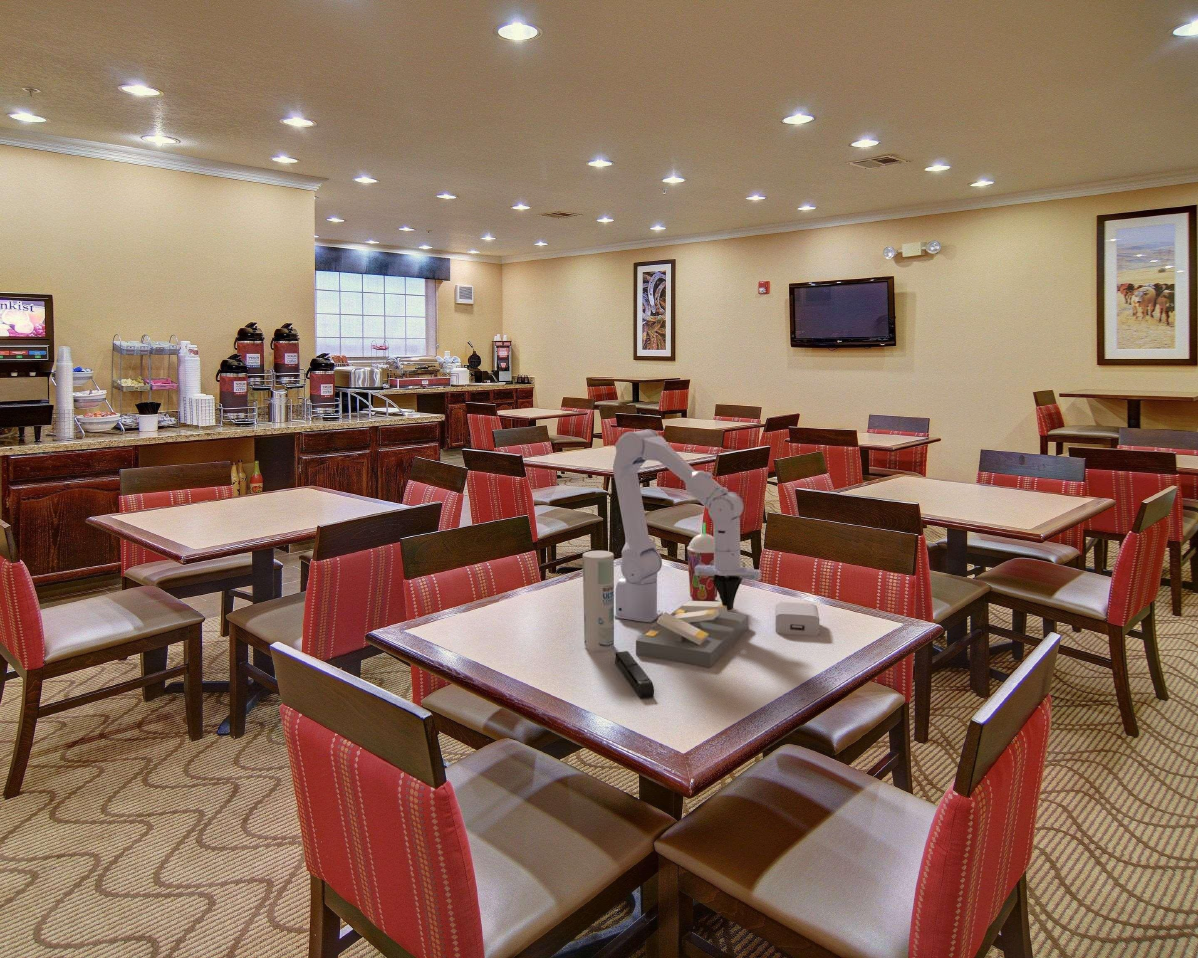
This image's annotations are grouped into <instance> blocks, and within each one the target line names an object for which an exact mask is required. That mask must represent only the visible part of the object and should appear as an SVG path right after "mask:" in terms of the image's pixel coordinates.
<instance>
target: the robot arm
mask: <svg viewBox="0 0 1198 958" xmlns="http://www.w3.org/2000/svg"><path fill="white" fill-rule="evenodd" d="M614 445H615V456H614V459H613V460H614V461H613V465H612V472H613V476H614V482H615V487H616V493H617V498H618V504H619V508H620V509H619V510H620V514H621V515H620V516H621V521H622V526H623V527H622V528H623V532H624V537H625V544H624V546H623V548H622V550H621V563H620V571H621V574H622V576H623V577H620V578H619V579H618V581H617V582H616V586H615V591H614V596H615V613H614V618H616V619H617V618H618V619H623V620H630V621H637V622H642V623H649V624H650V623H653V622H654V621H655V620H656V619H658V618H659V617H660V616H661V615H663V614H664V611H662V610H658V573H659V572H660V570H661V568H662V567H663V559H662V556H661V554H660V552H659V551H658V549H657V546H656V542H655V541H654V540H652V538H650V536H649V535H650V534H649V531H648V530H649V529H648V525H647V520H646V515H645V508H644V502H643V498H642V492H641V486H640V480H639V475H638V472H639V470H640V469H641V468H642V466H643V464H645V462H646V461H656V462H659V463H660V464H661V465H663V467H665V468H667V469H668V470H669V471H671V472H672V473H673V474H674V475H675V476H677V477H678V478H679V479H681V480H682V481H683V482H684V483H685V490H686V491H687V492H688V493H689V494H690V495H691V496H693V497H694V498H695V499H696V500H697V501H698V502H700V504H702V506H704V508H706V509H707V510H708V511H707V512H708V515H709V517H710V519H711V520H712V522H713V527H712V528H713V537H714V565H697V566H695V575H698V576H699V575H707V576H714V580H713V584H714V586H715V587H716V589H717V594H718V596H719V597H720V598H719V599H720V602H722V605H723V606H726V605H727V610H728V611H727V612H731V611H732V610H733V609H734V604H735V599H736V595H737V593H738V590H739V588H740V585H741V583H742V581H743V580H754V581H755V582H756V581H757V582H759V581H760V580H761V579H762V570H761V569H754V568H750V567H749V568H748V567H745V566H741V525H740V524H741V522H740V520H741V519H740V516H741V515H742V513H743V511H744V508H745V507H744V502H743V500H742V498H741V497H740V495H739V494H738V493H737V492H733V491H729V489H728V488H727V487H726V486H724V487H723V486H722V485H721V484H720V483H719V482H717V481H716V480H715V479H713V478H712V476H713V474H712V473H711V472H709V471H706V472H705V471H704V470H695V469H694V468H693V467H692V466H691V465H690V464H689V463H688V462H687V461H686V460H685V459H684V458H683V457H682V456H681V455H680V454H679V453H678V452H677V451H675V450H674V449H673V447H672V446H671V445H669V443H667V441H666V439H665V438H664V437H663V436H661V435H659V434H658V432H656V431H655V430H653V429H650V428H648V429H647V428H646V429H644V430H637V431H627V432H624V433H623V434H621V435H620V437H619V439H618V440H617V441H616V442H615V444H614Z"/></svg>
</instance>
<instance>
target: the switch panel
mask: <svg viewBox="0 0 1198 958" xmlns="http://www.w3.org/2000/svg"><path fill="white" fill-rule="evenodd" d="M688 612H696V611H683V605H681V606H680V607H678V608H676V609H675V610H674V611H673V612H672V613H669V614H670V615H672V616H674V615H676V614H681V613H688ZM749 622H750V621H749V614H743V613H738V612H731V611H727V612H719V615H718V616H717V617H716V618H715V619H713V620H705V621H697V622H689V623H688V624H690V625H692V626H694V627H696V628H698V629H700V630H702V631H704V632H706V633H708V637H707V639H706V640H705V641H704V642H703V643H702V644H701V645H699V644H697V643H695V642H693V641H691V640H689V639H687V638H685V637H683V636H681V635H679V634H677V633H675V632H674V631H672V630H670V629H668V628H666V627H664V626H662V625H660V624H658V623H657V624H655V625H654V626H653V627H652V628H650V629H649V630H648V631H646V632H645V633H643V635H640V637H639V638H637V639H636V640H635V656H642V657H648V658H652V659H659V660H665V661H671V662H676V663H682V664H688V665H694V666H699V667H704V668H705V667H706V668H711V667H713V666H714V665H715V664H716V662H718V661H719V659H720V658H721V657H722V656H723V655H724V654H726V652H727V651H728V650H729V649H730V648H731V647H732V645H734V644H735V643H736V641H738V639H739V638H741V636H742V635H743V634H744V633H745V632H746V631H747V630H748V629H749Z"/></svg>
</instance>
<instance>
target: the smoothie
mask: <svg viewBox="0 0 1198 958" xmlns="http://www.w3.org/2000/svg"><path fill="white" fill-rule="evenodd" d="M686 549H687V564H688V565H687V566H688V582H689V596H690V597H691V601H713V602H716V598H717V597H718V591H717V589H716V587H715V586H714V584H713V580H714V576H707V575H699V576H698V575H695V566H697V565H714V535H711V534H708V533H706V522H702V533H699V534H697V535H695V536H694V537H693V538H692V539H691V541H690V542H689V544H688V546H686Z"/></svg>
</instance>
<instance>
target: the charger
mask: <svg viewBox="0 0 1198 958" xmlns="http://www.w3.org/2000/svg"><path fill="white" fill-rule="evenodd" d="M775 632H776V633H777V634H782V635H783V634H784V635H795V636H796V635H797V636H811V635H812V637H813V636H814V637H817V636H818V635H820V615H819V610H818V607H817V605H816V604H814V603H803V602H789V601H787V602H785V601H783V602H782V601H781V602H777V603H776V604H775Z"/></svg>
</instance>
